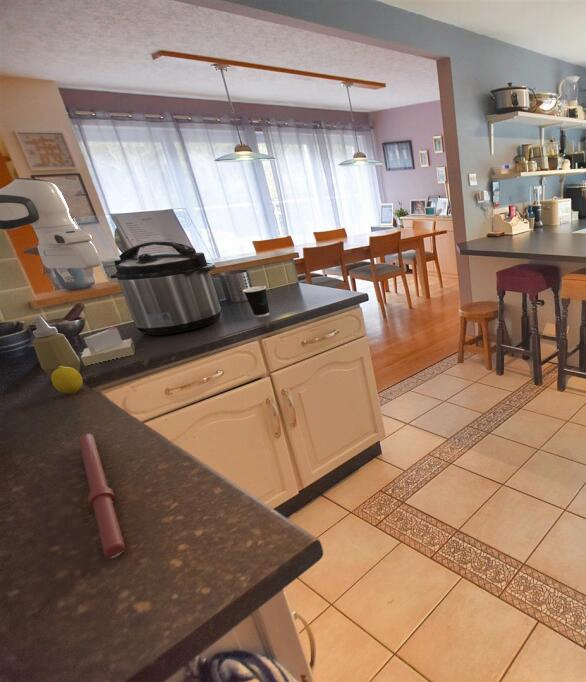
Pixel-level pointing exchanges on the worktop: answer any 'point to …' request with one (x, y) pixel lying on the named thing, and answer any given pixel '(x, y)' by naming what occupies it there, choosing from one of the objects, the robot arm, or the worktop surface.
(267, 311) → the dixie cup
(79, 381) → the lemon
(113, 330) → the light grey rectangular block
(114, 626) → the worktop surface
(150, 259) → the pressure cooker
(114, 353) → the block
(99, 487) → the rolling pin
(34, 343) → the squeeze bottle
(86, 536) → the worktop surface
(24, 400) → the worktop surface
